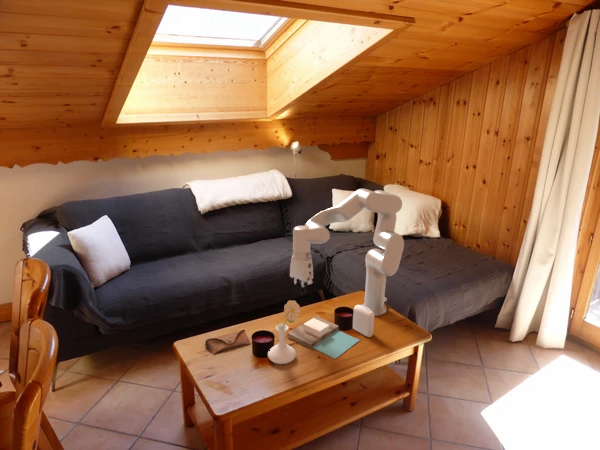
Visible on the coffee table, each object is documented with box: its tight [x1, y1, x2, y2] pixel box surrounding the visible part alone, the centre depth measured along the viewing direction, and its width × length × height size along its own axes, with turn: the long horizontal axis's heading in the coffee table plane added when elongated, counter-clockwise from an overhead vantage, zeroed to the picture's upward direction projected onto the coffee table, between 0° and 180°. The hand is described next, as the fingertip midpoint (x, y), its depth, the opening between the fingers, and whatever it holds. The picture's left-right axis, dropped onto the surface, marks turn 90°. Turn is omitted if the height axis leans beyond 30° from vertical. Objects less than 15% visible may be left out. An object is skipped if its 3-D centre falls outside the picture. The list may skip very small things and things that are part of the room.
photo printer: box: [352, 304, 375, 338], centre depth 182 cm, size 10×4×12 cm, turn 39°
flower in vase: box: [267, 299, 302, 365], centre depth 161 cm, size 13×11×25 cm
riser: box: [287, 315, 340, 349], centre depth 181 cm, size 20×13×2 cm, turn 139°
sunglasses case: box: [205, 329, 252, 356], centre depth 172 cm, size 18×7×7 cm, turn 121°
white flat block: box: [302, 317, 329, 337], centre depth 180 cm, size 7×9×3 cm
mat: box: [311, 330, 361, 360], centre depth 174 cm, size 18×12×1 cm, turn 139°
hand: (300, 292), depth 182 cm, fingers closed
